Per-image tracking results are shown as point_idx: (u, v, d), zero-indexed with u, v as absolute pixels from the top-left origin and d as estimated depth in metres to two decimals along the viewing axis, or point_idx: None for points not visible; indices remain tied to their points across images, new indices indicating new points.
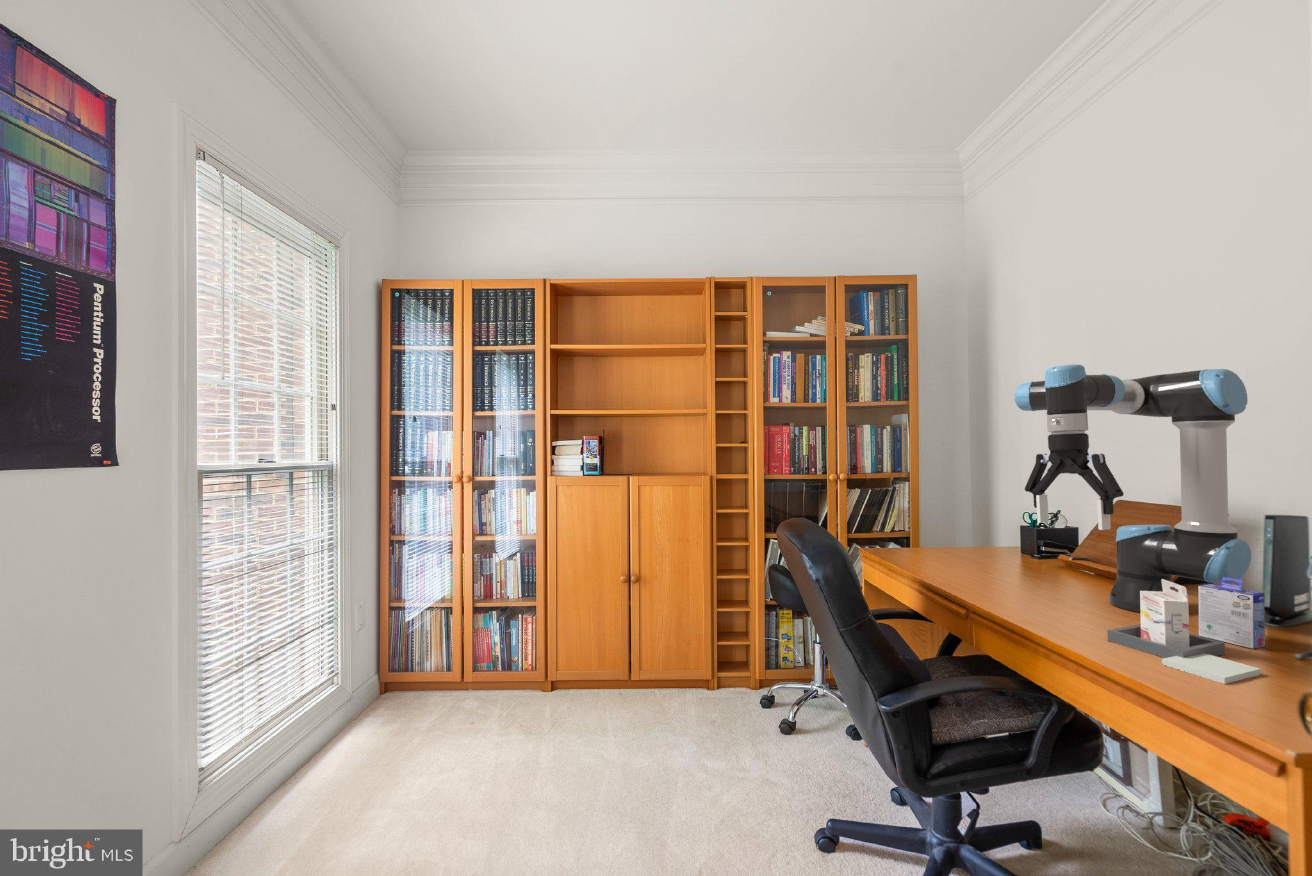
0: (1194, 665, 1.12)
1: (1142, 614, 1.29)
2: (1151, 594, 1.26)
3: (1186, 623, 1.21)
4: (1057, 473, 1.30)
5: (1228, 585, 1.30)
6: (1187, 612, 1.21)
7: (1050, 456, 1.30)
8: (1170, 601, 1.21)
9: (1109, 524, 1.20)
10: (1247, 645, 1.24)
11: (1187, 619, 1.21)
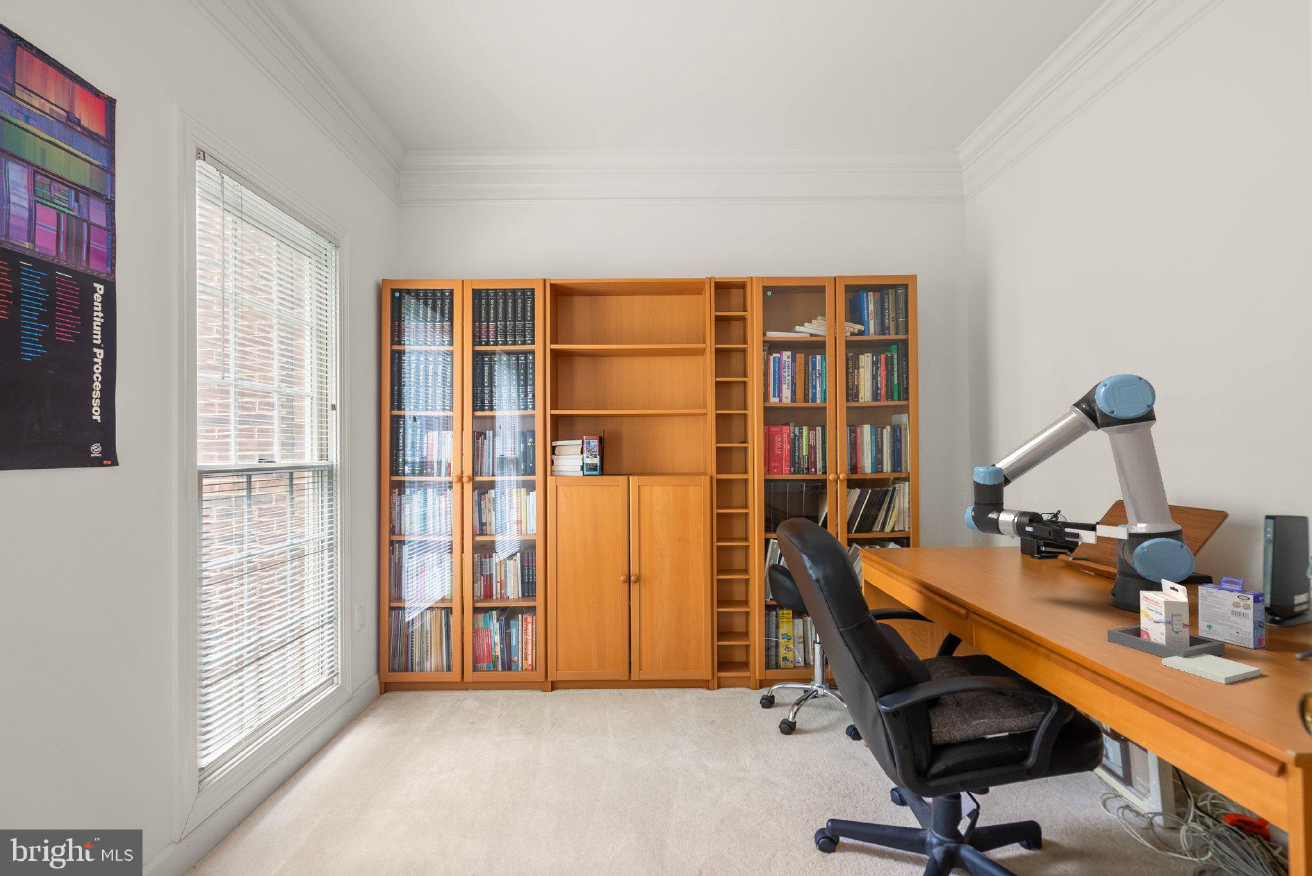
0: (1194, 665, 1.12)
1: (1142, 614, 1.29)
2: (1151, 594, 1.26)
3: (1186, 623, 1.21)
4: (1066, 526, 1.46)
5: (1228, 585, 1.29)
6: (1187, 612, 1.21)
7: None
8: (1170, 601, 1.21)
9: (1090, 532, 1.32)
10: (1247, 645, 1.24)
11: (1187, 619, 1.21)
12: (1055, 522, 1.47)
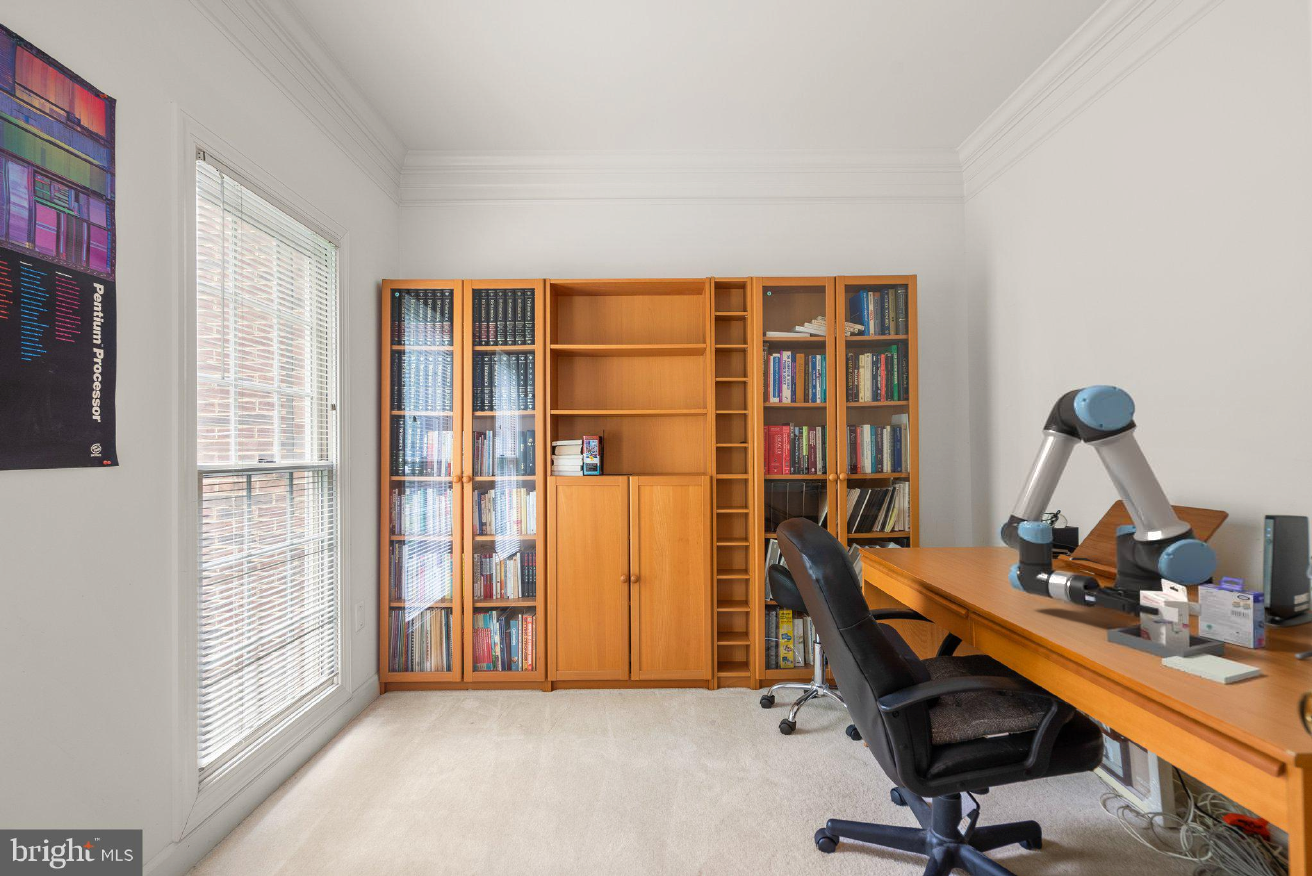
0: (1194, 665, 1.12)
1: (1142, 614, 1.29)
2: (1151, 594, 1.26)
3: (1186, 623, 1.21)
4: (1125, 595, 1.33)
5: (1228, 585, 1.30)
6: (1187, 612, 1.21)
7: None
8: (1170, 601, 1.21)
9: (1171, 609, 1.20)
10: (1247, 645, 1.24)
11: (1187, 619, 1.21)
12: (1113, 589, 1.35)
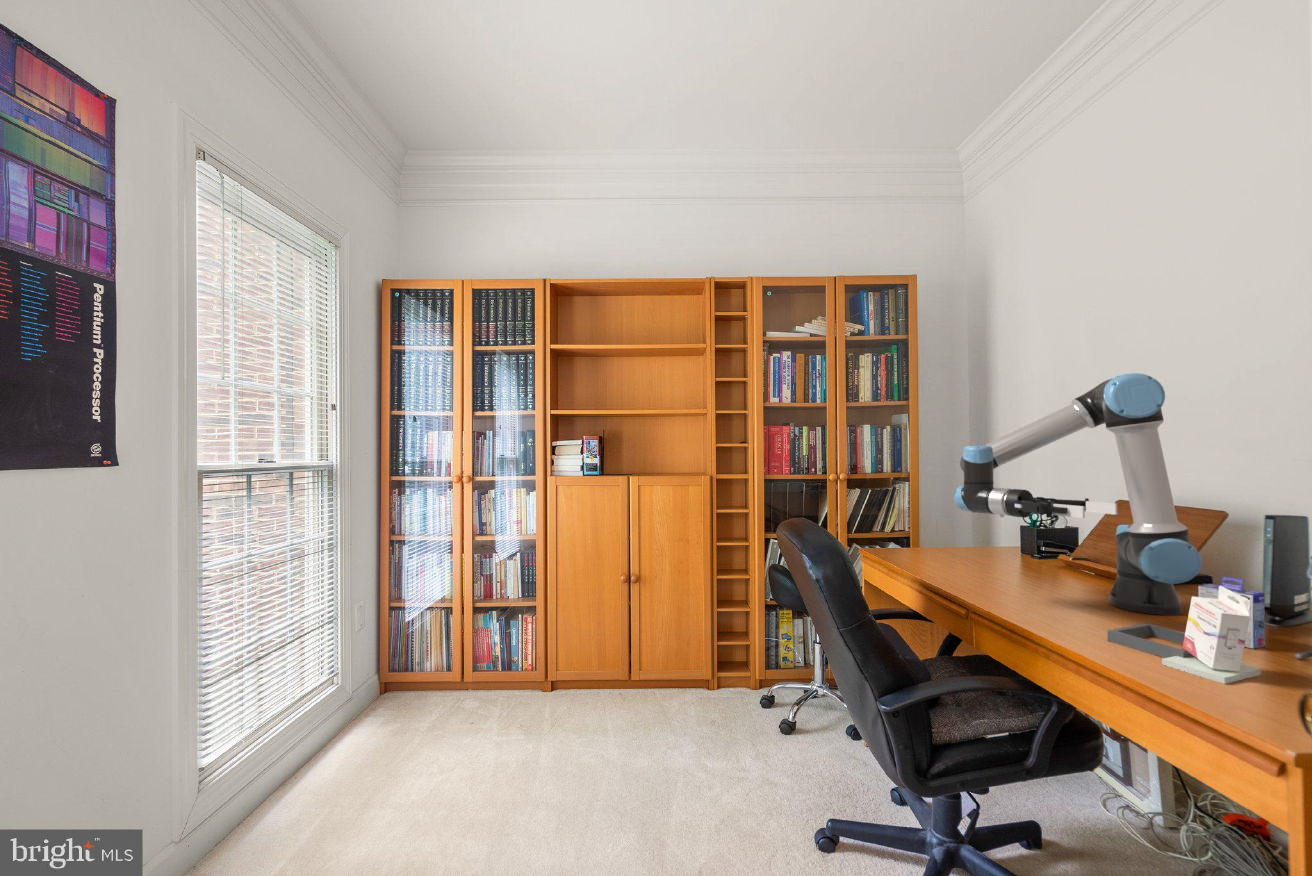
0: (1194, 665, 1.12)
1: (1190, 622, 1.15)
2: (1206, 602, 1.12)
3: (1242, 639, 1.07)
4: (1055, 503, 1.45)
5: (1228, 585, 1.30)
6: (1246, 627, 1.07)
7: None
8: (1229, 614, 1.07)
9: (1078, 507, 1.31)
10: (1247, 645, 1.24)
11: (1245, 635, 1.07)
12: (1044, 499, 1.46)
